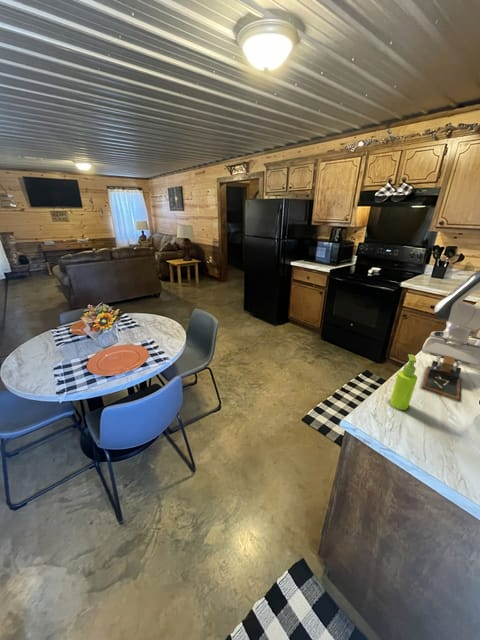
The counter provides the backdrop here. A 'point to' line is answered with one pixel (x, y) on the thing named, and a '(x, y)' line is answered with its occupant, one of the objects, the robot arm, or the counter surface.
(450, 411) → the counter surface
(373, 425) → the counter surface
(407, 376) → the soap dispenser
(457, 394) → the chalkboard
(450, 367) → the eraser
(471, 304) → the robot arm
